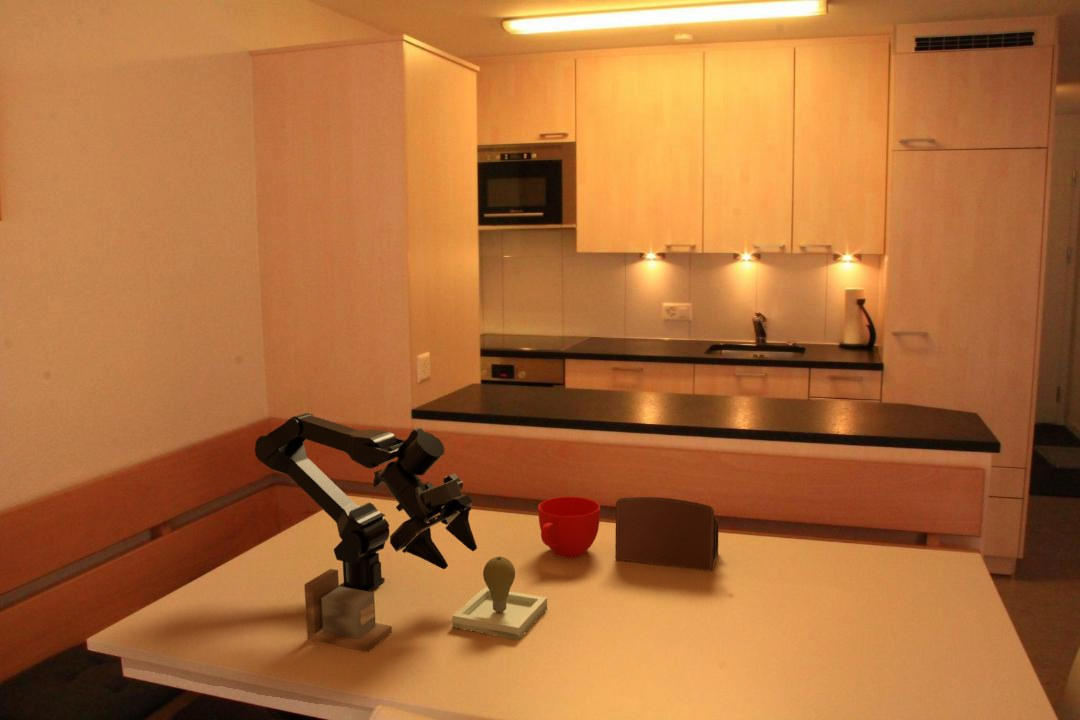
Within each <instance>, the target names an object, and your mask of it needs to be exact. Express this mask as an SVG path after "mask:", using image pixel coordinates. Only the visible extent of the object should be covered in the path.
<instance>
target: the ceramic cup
mask: <svg viewBox="0 0 1080 720" xmlns="http://www.w3.org/2000/svg"><path fill="white" fill-rule="evenodd" d="M537 513H538V523H539V529H540V537H541V540H542V543H543V544H544V545H545V546H547V547H548V548H550V550H551V551H552V552H553V553H554V555H556V556H557V555H558V557H560V558H566V557H567V559H568V558H569V559H572V558H573V557H574V558H579V557H581V556H584V555H585V554H586V552H587V551H588V550H589V549H590V548H591V547H592V546H593V543H594V542H595V540H596V537H597V535H598V531H599V527H600V521H601V520H600V519H601V505H600V504H599V502H597V501H595V500H592V499H589V498H586V497H580V496H578V497H577V496H561V497H559V496H558V497H552V498H549V499H546V500H544V501H542V502H540V503H539V504H538V506H537ZM574 558H573V559H574Z"/></svg>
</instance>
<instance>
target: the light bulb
mask: <svg viewBox="0 0 1080 720" xmlns="http://www.w3.org/2000/svg"><path fill="white" fill-rule="evenodd" d="M482 574H483V575H482V577H483V581H484V583H485V585H486V587H487V588H488V589H489V591H490V595H491V598H492V601H493V610H494V611H496V612H497V613H502V612H503V611H504V610H506V599H507V598H508V595H509V591H510V590H511V587H512V585H513V583H514V582H515V578H516V569H515V567H514V564H513V563H512V561H510V560H509V559H508V558H506V557H505V556H495V557H492V558H490V559H489V560H488V561H487V562H486V563H485V565H484V568H483V572H482Z"/></svg>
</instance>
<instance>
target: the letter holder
mask: <svg viewBox="0 0 1080 720" xmlns="http://www.w3.org/2000/svg"><path fill="white" fill-rule="evenodd" d="M719 528H720V523H719V520H718V519H717V516H716V515H715V510H714V508H713V507H712V506H710V505H707V504H703V503H699V502H695V501H689V500H683V499H677V498H668V497H660V496H659V497H657V496H655V497H654V496H635V497H633V496H631V497H621V498H618V499H617V500H616V502H615V544H614V545H615V546H614V547H615V552H614V553H615V555H614V556H615V557H614V559H615V561H618V562H619V561H620V562H626V563H627V562H629V563H635V564H637V563H638V564H644V565H645V564H646V565H647V564H648V565H655V566H663V567H672V568H682V569H691V570H699V571H706V572H707V571H708V572H712V571H713V570H714V567H715V564H716V562H717V558H718V554H719V534H720V533H719V530H720V529H719Z"/></svg>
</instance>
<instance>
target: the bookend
mask: <svg viewBox="0 0 1080 720" xmlns="http://www.w3.org/2000/svg"><path fill="white" fill-rule="evenodd" d="M339 580H340V579H339V570H338V569H333V568H330V569H327V570H325V572H323V573H320V574H319V575H318V576H316V577H314V578H312V579H311V580H309V581H308V582H306V583H304V586H303V587H304V604H305V616H306V617H305V619H306V632H307V633H306V635H307V640H310V641H315V642H320V643H326V644H330V645H335V646H340V647H345V648H349V649H353V650H358V651H363V652H367V653H368V652H369V651H371V650H372V649H374V647H376V646H377V645H378V644H380V643H381V642H383V640H385V639H386V638H388V637H389V636H390V635H391V634H392V631H393V630H392V628H393V627H392V625H389V624H383V623H377V622H376V608H375V607H376V606H375V592H373V591H369V592H368V591H363V590H357V589H352V588H346V587H341V586H339V585H340V583H339ZM390 633H391V634H390ZM385 637H386V638H385ZM380 641H381V642H380ZM379 642H380V643H379Z"/></svg>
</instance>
